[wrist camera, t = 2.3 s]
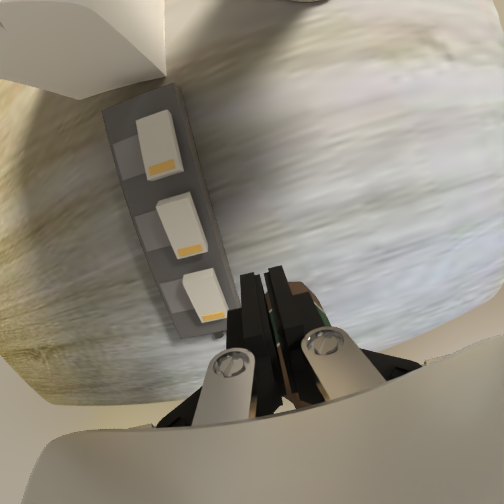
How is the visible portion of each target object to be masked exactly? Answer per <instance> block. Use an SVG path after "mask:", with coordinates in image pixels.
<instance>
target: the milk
mask: <svg viewBox="0 0 504 504" xmlns="http://www.w3.org/2000/svg"><path fill="white" fill-rule="evenodd" d="M162 77H167V75H166V56H165V23H164V0H0V79H4V80H9V81H13V82H17V83H21V84H25V85H28V86H32V87H36V88H39V89H43V90H47V91H50V92H53V93H57V94H60V95H63V96H66V97H70V98H73V99H76V100H82V99H85V98H88V97H91V96H94V95H97V94H100V93H103V92H106V91H110V90H113V89H116V88H120V87H124V86H127V85H131V84H135V83H139V82H144V81H148V80H152V79H157V78H162Z"/></svg>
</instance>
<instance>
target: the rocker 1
mask: <svg viewBox="0 0 504 504" xmlns="http://www.w3.org/2000/svg"><path fill="white" fill-rule="evenodd" d="M136 125H137V131H138V136H139V142H140V147H141V152H142V157H143V162H144V167H145V171H146V176H147V180H149V181H154V180H158V179H161V178H164V177H167V176H170V175H173V174H177V173H180V172H183V171H184V169H183V165H182V160H181V156H180V152H179V147H178V143H177V138H176V134H175V129H174V124H173V120H172V115H171V113H170V112H169V111H168V109H167V110H164V111H161V112H158V113H155V114H152V115H150V116H147V117H144V118H141V119H139V120H136Z"/></svg>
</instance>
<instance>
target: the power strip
mask: <svg viewBox="0 0 504 504" xmlns="http://www.w3.org/2000/svg"><path fill="white" fill-rule="evenodd" d="M167 109H168V111H169V112H170V113H171V115H172V120H173V124H174V129H175V134H176V138H177V143H178V147H179V152H180V156H181V160H182V165H183V169H184V171H183V172H180V173H177V174H173V175H170V176H167V177H164V178H161V179H158V180H154V181H149V180H147V176H146V171H145V167H144V162H143V157H142V152H141V147H140V142H139V136H138V131H137V125H136V120H139V119H141V118H144V117H147V116H150V115H152V114H155V113H158V112H161V111H164V110H167ZM102 114H103V118H104V122H105V127H106V131H107V135H108V139H109V143H110V147H111V151H112V154H113V158H114V162H115V165H116V169H117V172H118V176H119V179H120V182H121V186H122V189H123V192H124V195H125V199H126V202H127V205H128V208H129V211H130V214H131V217H132V220H133V223H134V226H135V228H136V231H137V234H138V237H139V240H140V242H141V245H142V248H143V250H144V253H145V256H146V258H147V261H148V264H149V266H150V269H151V271H152V274H153V276H154V279H155V281H156V284H157V286H158V288H159V291H160V293H161V295H162V298H163V300H164V302H165V305H166V307H167V309H168V312H169V314H170V316H171V318H172V320H173V323H174V325H175V327H176V329H177V331H178V333H179V336H180V338H181V339H183V338H188V337H194V336H199V335H204V334H210V333H214V335H215V338H221V337H223V335H224V334H223V332H222V331H225V330H227V318H224V319H219V320H214V321H209V322H204V323H202V322H201V320H200V318H199V316H198V314H197V312H196V310H195V308H194V306H193V304H192V302H191V300H190V298H189V296H188V294H187V292H186V290H185V288H184V286H183V284H182V283H183V275H185V274H189V273H193V272H198V271H202V270H206V269H210V268H213V269H214V272H215V274H216V277H217V280H218V282H219V285H220V287H221V290H222V293H223V295H224V298H225V300H226V303H227V305H228V308H229V310H232V309H237V308H241V304H240V300H239V297H238V294H237V291H236V287H235V284H234V281H233V277H232V274H231V271H230V267H229V264H228V261H227V257H226V254H225V250H224V247H223V244H222V240H221V237H220V233H219V230H218V226H217V223H216V219H215V216H214V212H213V209H212V205H211V202H210V198H209V194H208V191H207V187H206V184H205V180H204V176H203V173H202V169H201V165H200V162H199V158H198V154H197V150H196V147H195V143H194V139H193V135H192V131H191V128H190V124H189V120H188V116H187V112H186V108H185V104H184V100H183V96H182V92H181V89H180V88H178V87H177V86H176V85H175V84H174V83H172V84H169V85H166V86H163V87H160V88H157V89H154V90H151V91H149V92H146V93H143V94H141V95H138V96H136V97H133V98H131V99H128V100H126V101H123V102H121V103H119V104H116V105H114V106H112V107H109V108H107V109H105V110H103V111H102ZM187 192H190V194H191V197H192V200H193V203H194V206H195V208H196V211H197V214H198V217H199V220H200V223H201V226H202V229H203V232H204V234H205V237H206V240H207V243H208V252H205V253H201V254H197V255H193V256H189V257H185V258H181V259H177V257H176V255H175V252H174V250H173V248H172V245H171V243H170V241H169V238H168V236H167V234H166V231H165V229H164V226H163V224H162V221H161V219H160V217H159V214H158V212H157V209H156V205H157V203H158V201H160V200H163V199H166V198H170V197H173V196H176V195H180V194H183V193H187Z"/></svg>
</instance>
